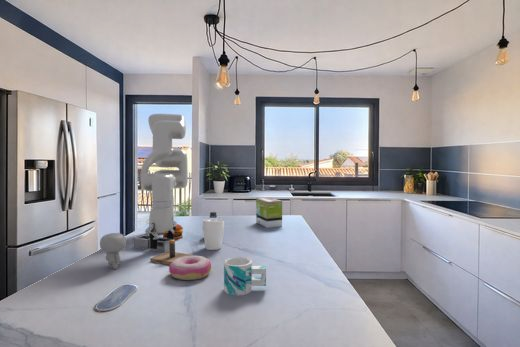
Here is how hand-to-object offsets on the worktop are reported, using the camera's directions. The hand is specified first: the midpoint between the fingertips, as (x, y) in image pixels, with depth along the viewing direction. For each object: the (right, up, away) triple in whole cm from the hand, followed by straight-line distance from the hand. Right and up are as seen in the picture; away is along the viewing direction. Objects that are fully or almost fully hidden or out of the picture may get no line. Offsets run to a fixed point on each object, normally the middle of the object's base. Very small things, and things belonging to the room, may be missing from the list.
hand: (162, 245), depth 133 cm
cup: (+21, -2, +2) cm, 21 cm away
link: (0, -2, 0) cm, 2 cm away
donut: (+18, -3, -28) cm, 34 cm away
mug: (+36, -4, -40) cm, 54 cm away
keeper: (+8, -2, -14) cm, 16 cm away
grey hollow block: (-8, -1, +4) cm, 9 cm away
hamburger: (-1, -1, +19) cm, 19 cm away
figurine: (-10, -3, -23) cm, 25 cm away
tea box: (+46, 0, +50) cm, 68 cm away
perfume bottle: (+18, -1, +20) cm, 27 cm away
